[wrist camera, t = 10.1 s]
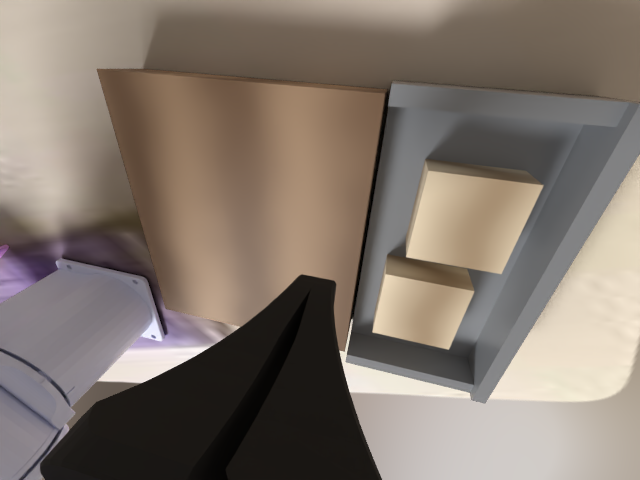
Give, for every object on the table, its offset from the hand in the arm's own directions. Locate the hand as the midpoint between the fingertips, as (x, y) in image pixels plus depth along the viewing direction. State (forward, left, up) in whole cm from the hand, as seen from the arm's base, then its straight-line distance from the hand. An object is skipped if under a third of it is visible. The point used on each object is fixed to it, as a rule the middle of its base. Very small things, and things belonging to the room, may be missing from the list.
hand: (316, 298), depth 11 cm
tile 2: (+6, +2, -7) cm, 9 cm away
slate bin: (+6, -1, -9) cm, 10 cm away
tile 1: (+5, -4, -7) cm, 10 cm away
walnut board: (-6, -1, -9) cm, 10 cm away
